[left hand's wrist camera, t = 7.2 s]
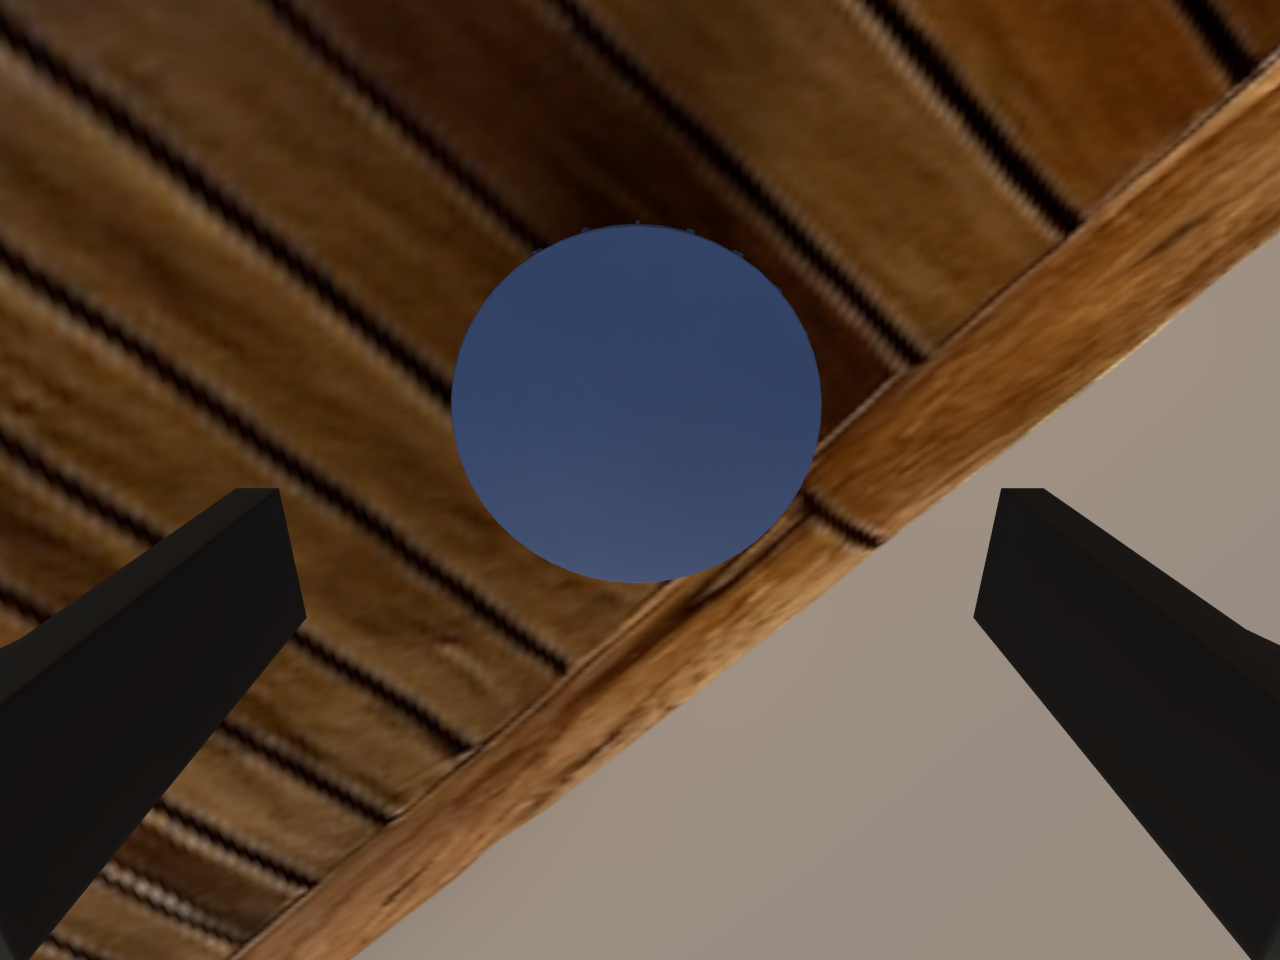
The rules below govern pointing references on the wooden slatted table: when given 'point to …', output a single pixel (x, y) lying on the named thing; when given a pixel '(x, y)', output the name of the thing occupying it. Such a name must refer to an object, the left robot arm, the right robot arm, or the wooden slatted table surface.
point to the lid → (636, 403)
